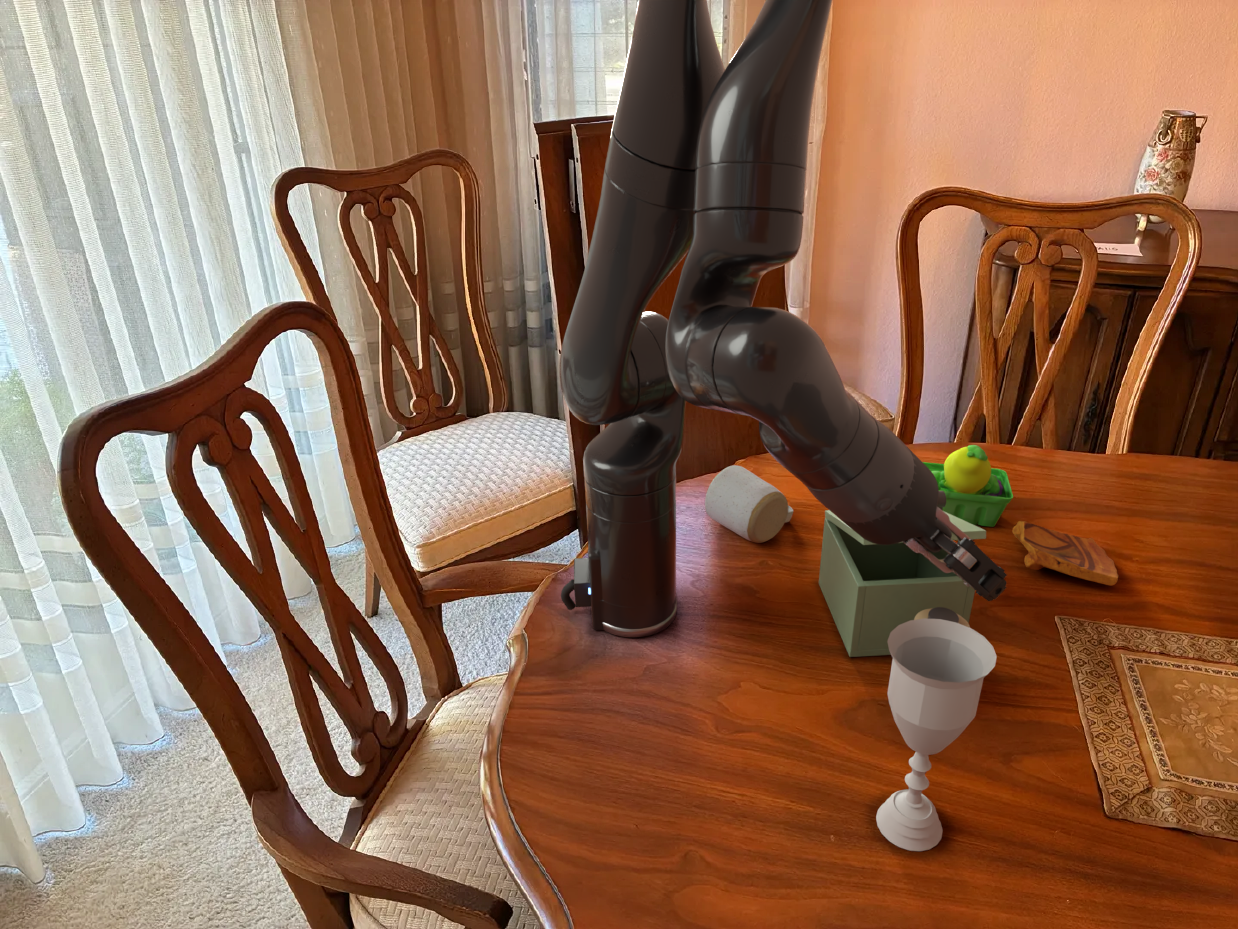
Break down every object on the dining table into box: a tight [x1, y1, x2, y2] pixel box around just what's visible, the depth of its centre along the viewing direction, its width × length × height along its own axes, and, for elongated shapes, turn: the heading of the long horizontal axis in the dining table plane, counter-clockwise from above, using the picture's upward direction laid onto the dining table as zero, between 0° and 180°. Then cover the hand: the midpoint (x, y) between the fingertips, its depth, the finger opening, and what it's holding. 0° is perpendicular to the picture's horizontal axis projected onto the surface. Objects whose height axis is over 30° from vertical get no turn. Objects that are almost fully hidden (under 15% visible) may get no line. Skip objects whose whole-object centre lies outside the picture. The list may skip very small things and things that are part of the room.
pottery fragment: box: [1011, 520, 1119, 586], centre depth 98 cm, size 10×5×10 cm
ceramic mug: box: [704, 464, 794, 544], centre depth 107 cm, size 11×8×8 cm
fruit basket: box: [922, 444, 1014, 528], centre depth 106 cm, size 11×9×11 cm
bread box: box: [818, 517, 976, 658], centre depth 90 cm, size 13×12×9 cm
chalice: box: [875, 619, 998, 852], centre depth 64 cm, size 7×7×18 cm
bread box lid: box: [824, 491, 987, 545], centre depth 86 cm, size 13×12×4 cm
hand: (960, 563), depth 75 cm, fingers open, 8 cm apart
